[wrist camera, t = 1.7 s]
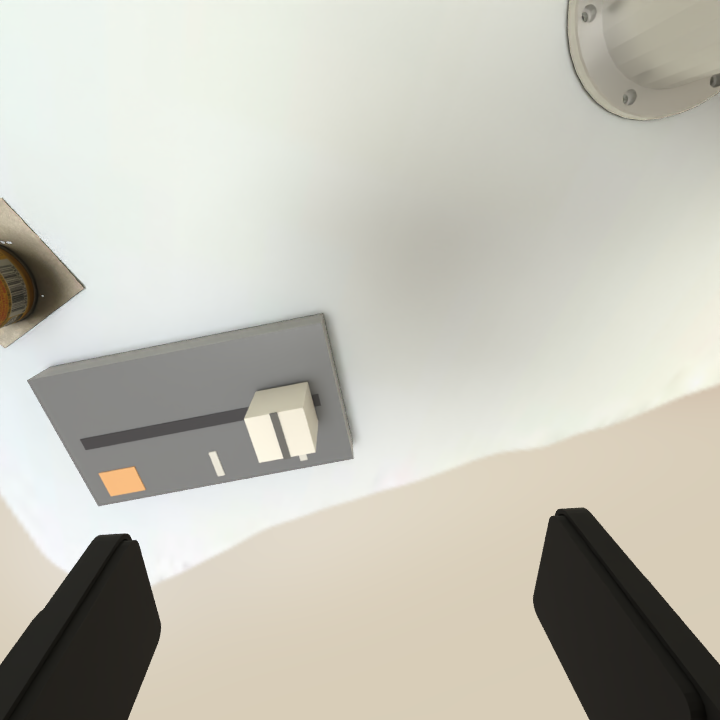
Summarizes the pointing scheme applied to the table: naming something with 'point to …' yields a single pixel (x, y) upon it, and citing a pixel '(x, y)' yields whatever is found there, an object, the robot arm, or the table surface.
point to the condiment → (28, 278)
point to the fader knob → (282, 422)
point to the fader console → (189, 409)
